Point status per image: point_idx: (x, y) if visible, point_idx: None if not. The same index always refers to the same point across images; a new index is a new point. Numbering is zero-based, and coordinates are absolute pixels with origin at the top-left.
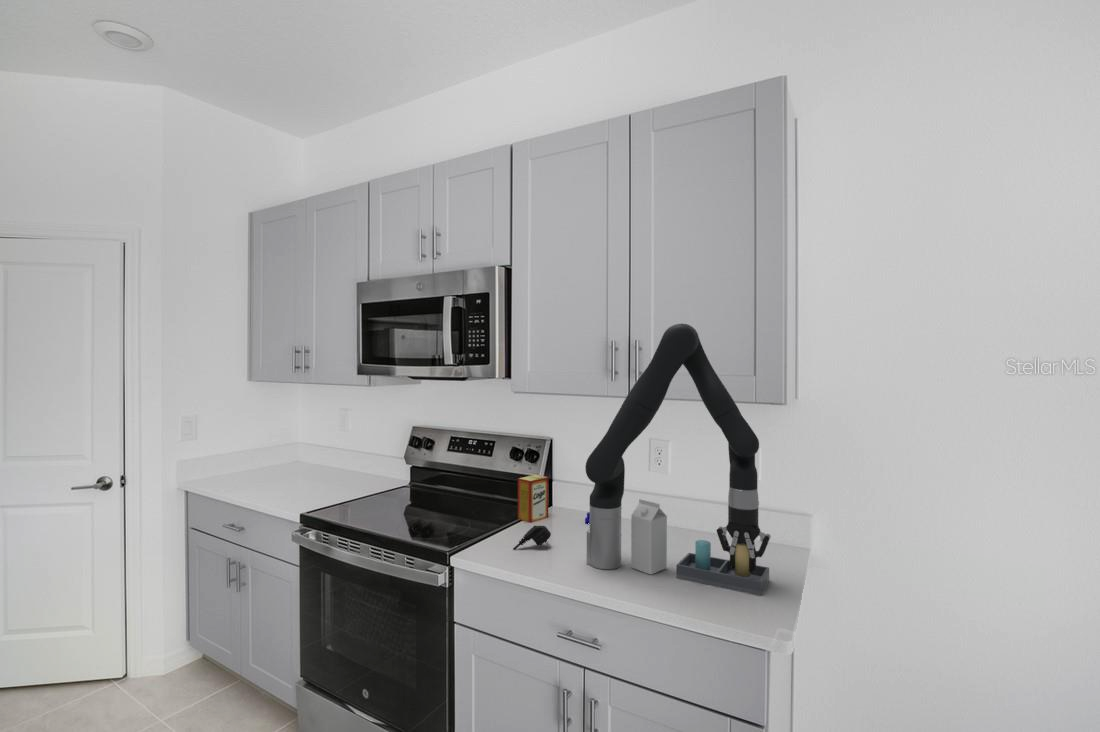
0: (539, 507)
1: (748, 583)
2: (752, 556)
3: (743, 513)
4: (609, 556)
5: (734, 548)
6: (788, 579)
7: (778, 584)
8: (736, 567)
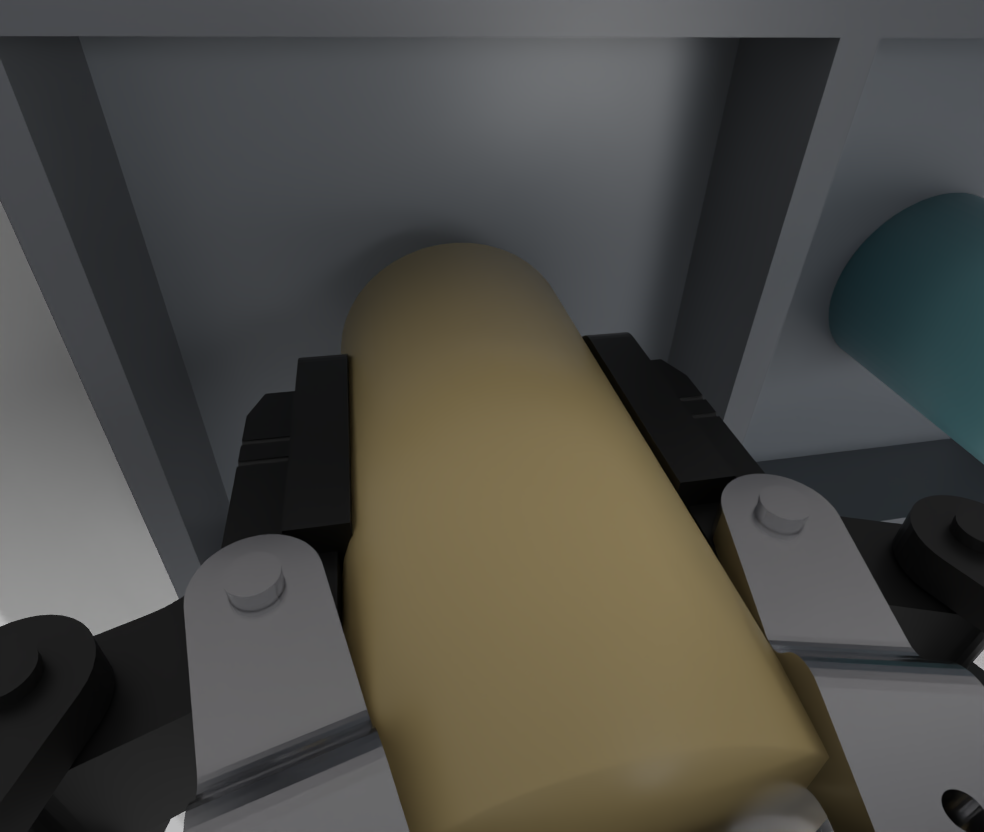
0: None
1: None
2: (248, 568)
3: None
4: None
5: (785, 616)
6: (88, 628)
7: (92, 487)
8: (566, 322)
